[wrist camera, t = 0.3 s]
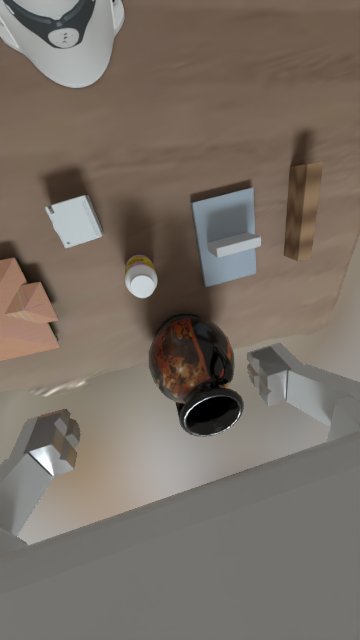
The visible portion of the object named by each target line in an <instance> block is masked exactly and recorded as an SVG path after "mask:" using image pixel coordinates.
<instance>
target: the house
mask: <svg viewBox="0 0 360 640" xmlns="http://www.w3.org/2000/svg"><path fill="white" fill-rule="evenodd" d="M17 260H18V259H15V258H9V259H4V260H0V361H1V360H6V359H10V358H15V357H19V356H24V355H28V354H33V353H37V352H42V351H46V350H51V349H55V348H60V345H59V343H58V342H57V341H58V339H57V340H56V338H57V336H56V338H55V335H54V334H53V333H54V332H52V330H53V329H52V330H51V327H52V326H51V327H50V326H49V325H50V324H48V322H52V321H57V320H59V319H58V317H57V315H56V313H55V311H54V309H53V307H52V305H51V303H50V301H49V298H48V296H47V294H46V292H45V290H44V288H43V286H42V284H41V282H36V283H29V284H28V282H27V281H28V280H27V281H26V279H25V278H26V277H27V276H26V277H24V275H23V273H22V270H21V269H20V267H21V266H20V267H19V265H18V263H17ZM24 274H25V273H24Z"/></svg>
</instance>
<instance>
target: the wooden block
mask: <svg viewBox="0 0 360 640" xmlns="http://www.w3.org/2000/svg"><path fill="white" fill-rule="evenodd" d="M322 168H323V161H321V162H315V163H308V164H303V165H298V166H293V167H290V174H289V188H288V203H287V217H286V232H285V246H284V256H286V257H289V258H291V259H294V260H296V261H300V260H304V259H308V258H311V252H312V245H313V237H314V229H315V222H316V214H317V206H318V199H319V191H320V183H321V176H322Z"/></svg>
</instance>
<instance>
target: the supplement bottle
mask: <svg viewBox="0 0 360 640" xmlns="http://www.w3.org/2000/svg"><path fill="white" fill-rule="evenodd" d="M157 282H158V279H157V275H156V272H155V269H154V266H153V263H152V262H151V260H150V259H149V258H148V257H146V256H144V255H135V256H132V257H131V258H130V259H129V260H128V261H127V263H126V269H125V284H126V286H127V288H128V290H129V291H130V292H131V293H133V294H134V295H135V296H136V297H139V298H146V297H148V296H150V295H151V294H152V293H153V291H154V290H155V288H156V286H157Z"/></svg>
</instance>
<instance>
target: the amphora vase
mask: <svg viewBox="0 0 360 640" xmlns="http://www.w3.org/2000/svg"><path fill="white" fill-rule="evenodd" d="M149 369H150V372H151V375H152V378H153V380H154V382H155V384H156V385H157V387H158V388H159V389H160V390H161V392H162V393H163V394H164V395H165V396H166V397H168V398H169V399H171V400H173V401H175V402H176V406H177V410H178V415H179V420H180V425H181V427H182V428H183V429H184V430H185V431H186V432H188V433H189V434H191V435H194V436H203V437H205V436H211V435H215V434H219V433H221V432H223V431H225V430H227V429H228V428H230V427H231V426H233V425H234V424H235V423H236V422H237V421H238V419H239V418H240V416H241V415H242V411H243V409H244V403H243V400H242V397H241V396H240V395H239V394H238V393H237V392H236V391H233V390H231V389H227V388H228V386H229V384H230V383H231V380H232V379H233V375H234V353H233V350H232V347H231V345H230V342H229V340H228V337H227V336H226V335H225V334H224V332H223V331H222V330H221V329H220V328H219V327H218V326H217V325H215V324H213V323H212V322H210V321H208V320H205V319H202V318H200V317H198V316H197V315H193V314H179V315H175V316H173V317H171V318H169V319H167V320H166V321H165V322H164V323H163V324H162V325H161V326H160V327H159V329H158V330H157V333H156V336H155V338H154V340H153V342H152V345H151V347H150V350H149Z"/></svg>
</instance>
